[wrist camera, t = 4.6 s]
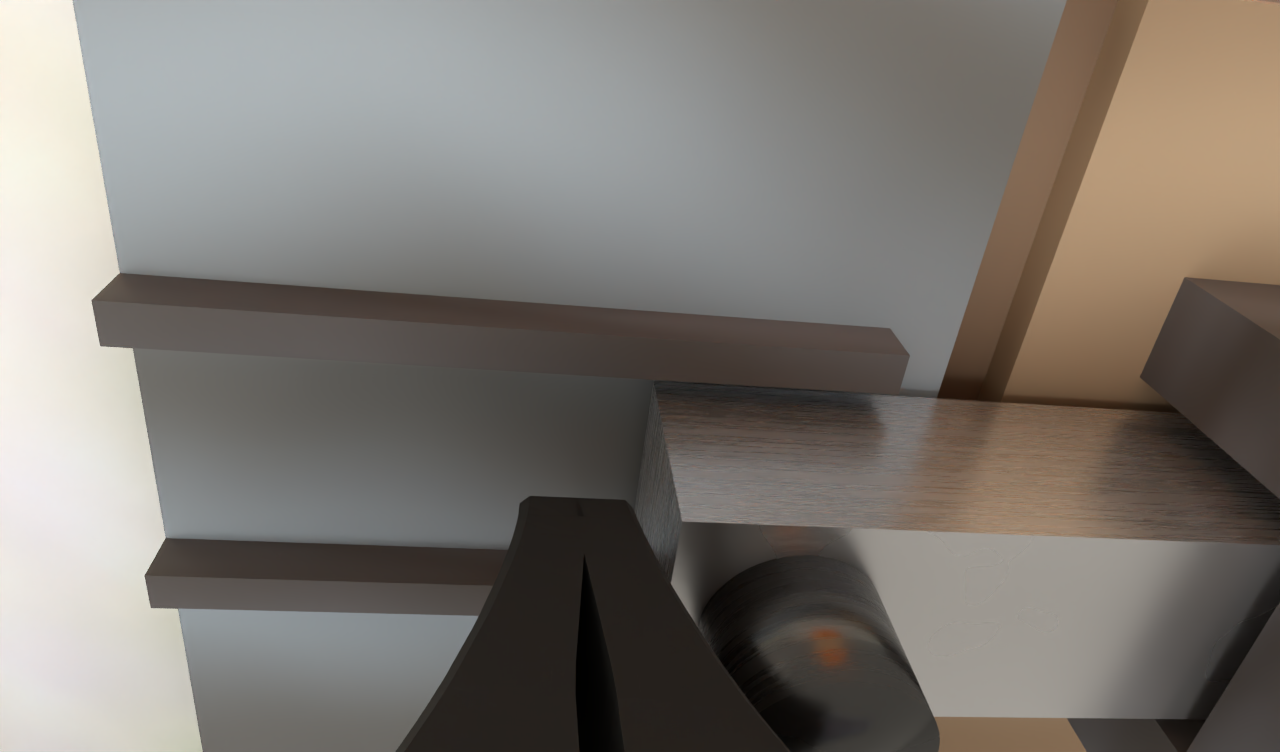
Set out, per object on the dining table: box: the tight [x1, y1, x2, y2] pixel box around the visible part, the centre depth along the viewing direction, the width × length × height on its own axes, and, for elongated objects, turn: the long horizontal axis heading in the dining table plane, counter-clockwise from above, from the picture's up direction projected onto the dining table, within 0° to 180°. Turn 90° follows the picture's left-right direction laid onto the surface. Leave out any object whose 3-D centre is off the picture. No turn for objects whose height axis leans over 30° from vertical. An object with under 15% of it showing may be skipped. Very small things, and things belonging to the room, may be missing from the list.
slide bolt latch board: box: [73, 0, 1280, 752], centre depth 12 cm, size 14×22×6 cm, turn 83°
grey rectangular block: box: [634, 381, 1280, 752], centre depth 11 cm, size 3×9×5 cm, turn 83°
